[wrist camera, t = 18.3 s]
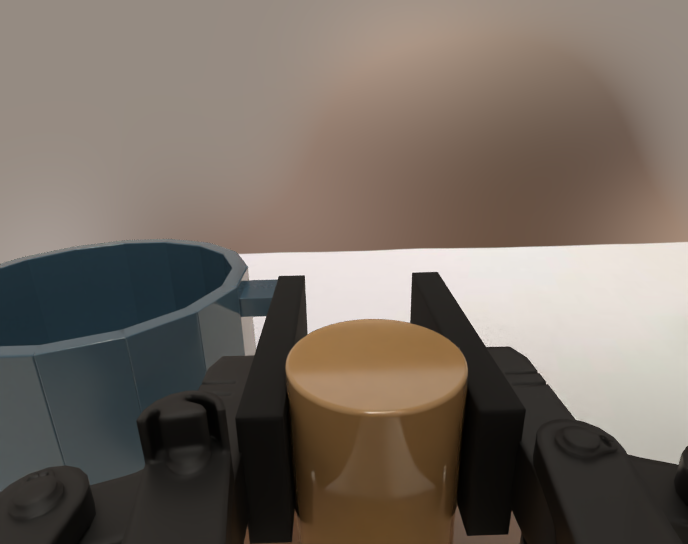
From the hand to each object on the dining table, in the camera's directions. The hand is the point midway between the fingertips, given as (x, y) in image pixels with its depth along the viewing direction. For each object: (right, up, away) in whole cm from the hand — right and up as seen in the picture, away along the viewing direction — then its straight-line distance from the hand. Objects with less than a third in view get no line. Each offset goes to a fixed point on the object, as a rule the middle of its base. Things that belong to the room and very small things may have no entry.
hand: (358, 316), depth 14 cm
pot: (-13, -7, +12) cm, 18 cm away
